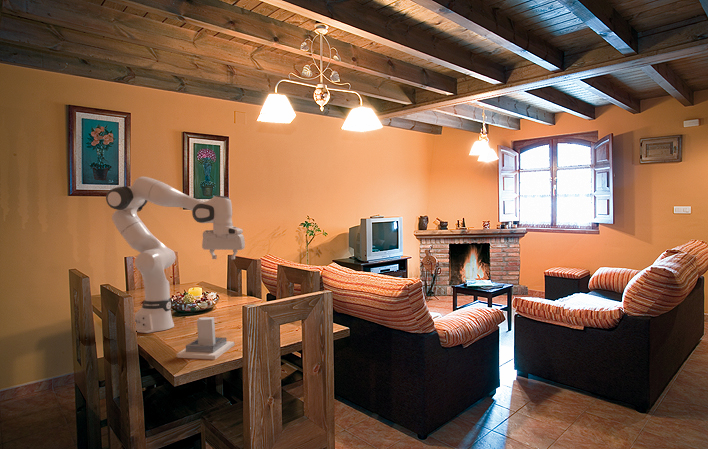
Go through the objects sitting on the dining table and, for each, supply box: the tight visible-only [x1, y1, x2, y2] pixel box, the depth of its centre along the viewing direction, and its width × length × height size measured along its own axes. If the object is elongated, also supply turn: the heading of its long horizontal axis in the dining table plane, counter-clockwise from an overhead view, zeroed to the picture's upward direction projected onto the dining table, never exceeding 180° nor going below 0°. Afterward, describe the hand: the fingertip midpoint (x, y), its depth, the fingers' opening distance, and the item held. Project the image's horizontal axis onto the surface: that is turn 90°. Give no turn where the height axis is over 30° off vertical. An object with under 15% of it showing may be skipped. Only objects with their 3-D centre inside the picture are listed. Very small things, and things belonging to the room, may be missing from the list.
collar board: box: [176, 340, 235, 360], centre depth 173 cm, size 16×17×2 cm
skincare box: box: [196, 316, 216, 346], centre depth 173 cm, size 6×4×12 cm
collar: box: [185, 336, 227, 353], centre depth 173 cm, size 12×12×2 cm
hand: (223, 259), depth 202 cm, fingers open, 8 cm apart
